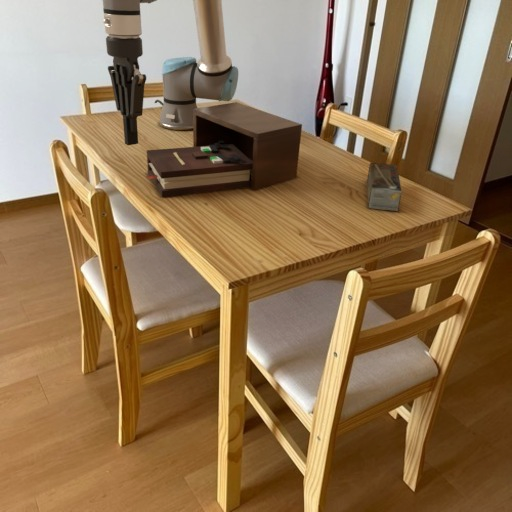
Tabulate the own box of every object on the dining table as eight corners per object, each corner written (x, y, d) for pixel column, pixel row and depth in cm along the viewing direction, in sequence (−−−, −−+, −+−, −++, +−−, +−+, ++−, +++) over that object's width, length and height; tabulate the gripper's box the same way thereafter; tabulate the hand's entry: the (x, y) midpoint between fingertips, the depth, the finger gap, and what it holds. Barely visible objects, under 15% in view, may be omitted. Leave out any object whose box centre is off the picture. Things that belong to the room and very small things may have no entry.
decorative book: (136, 146, 133) (238, 139, 144) (138, 172, 137) (237, 163, 148) (152, 171, 118) (264, 161, 129) (154, 200, 122) (262, 187, 133)
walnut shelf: (193, 160, 148) (193, 108, 140) (234, 150, 158) (236, 102, 150) (254, 190, 131) (258, 133, 123) (296, 177, 141) (302, 124, 133)
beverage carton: (366, 208, 125) (371, 184, 121) (365, 181, 141) (369, 159, 138) (398, 212, 124) (403, 188, 120) (393, 184, 140) (398, 163, 137)
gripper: (93, 32, 105) (104, 139, 117) (123, 40, 97) (131, 154, 109) (124, 31, 110) (131, 134, 122) (155, 39, 102) (160, 148, 113)
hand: (131, 143), depth 115 cm, fingers closed
